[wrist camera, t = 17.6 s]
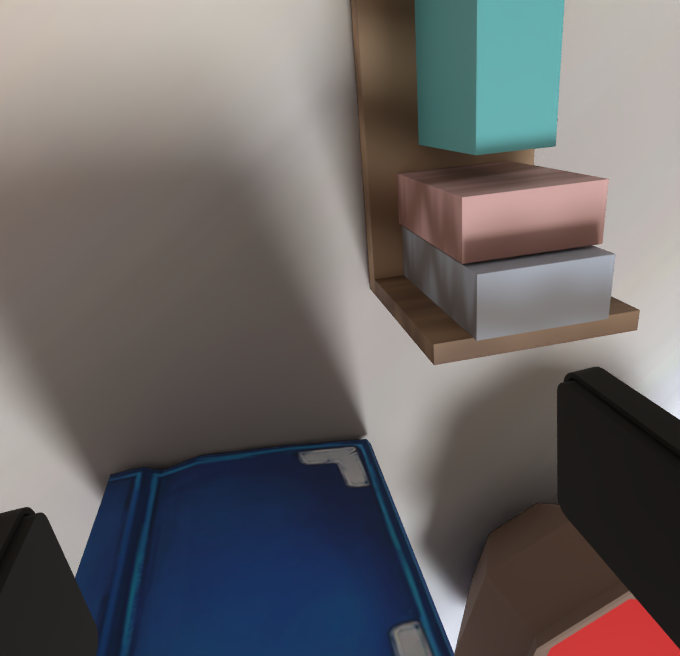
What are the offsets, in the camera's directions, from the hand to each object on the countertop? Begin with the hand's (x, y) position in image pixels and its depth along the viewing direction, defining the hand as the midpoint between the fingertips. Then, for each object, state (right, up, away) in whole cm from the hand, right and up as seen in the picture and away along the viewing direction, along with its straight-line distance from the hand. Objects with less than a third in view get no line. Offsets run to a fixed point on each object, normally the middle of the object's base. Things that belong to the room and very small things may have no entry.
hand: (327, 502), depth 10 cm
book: (-8, -9, +36) cm, 38 cm away
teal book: (+7, +21, +25) cm, 33 cm away
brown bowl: (+20, -20, +46) cm, 54 cm away
